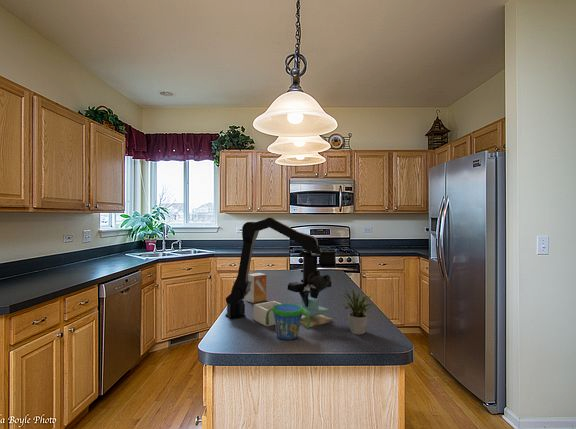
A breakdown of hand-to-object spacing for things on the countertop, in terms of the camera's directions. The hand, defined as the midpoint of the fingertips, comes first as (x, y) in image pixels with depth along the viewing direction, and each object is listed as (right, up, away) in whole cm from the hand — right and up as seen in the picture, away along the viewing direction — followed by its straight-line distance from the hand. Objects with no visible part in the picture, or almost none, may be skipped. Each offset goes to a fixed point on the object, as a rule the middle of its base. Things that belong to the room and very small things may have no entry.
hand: (309, 306), depth 133 cm
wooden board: (0, -6, 0) cm, 6 cm away
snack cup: (-9, -6, -18) cm, 21 cm away
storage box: (-16, -6, 0) cm, 17 cm away
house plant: (+15, -6, -12) cm, 21 cm away
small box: (-24, -6, +30) cm, 39 cm away
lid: (0, -3, 0) cm, 3 cm away
